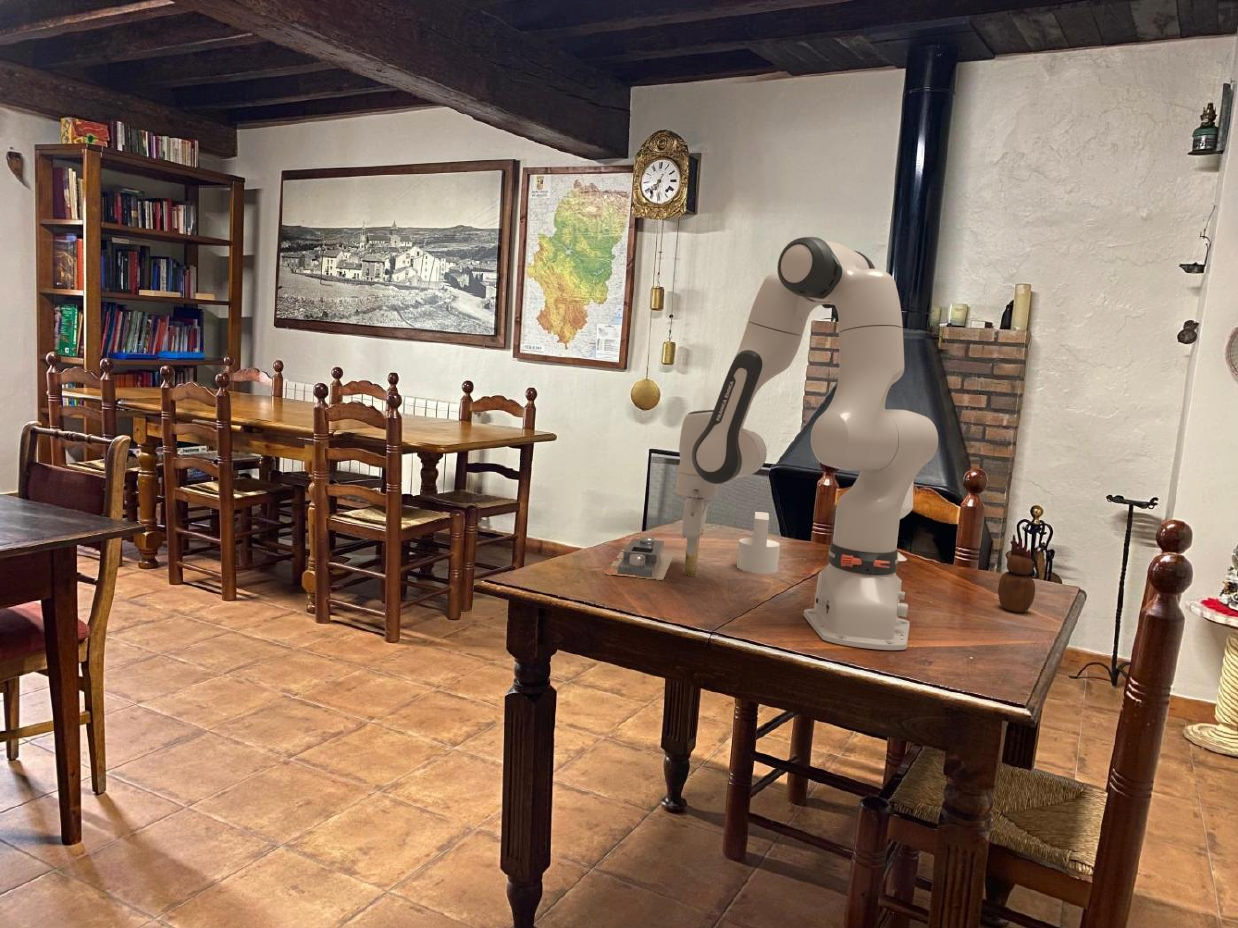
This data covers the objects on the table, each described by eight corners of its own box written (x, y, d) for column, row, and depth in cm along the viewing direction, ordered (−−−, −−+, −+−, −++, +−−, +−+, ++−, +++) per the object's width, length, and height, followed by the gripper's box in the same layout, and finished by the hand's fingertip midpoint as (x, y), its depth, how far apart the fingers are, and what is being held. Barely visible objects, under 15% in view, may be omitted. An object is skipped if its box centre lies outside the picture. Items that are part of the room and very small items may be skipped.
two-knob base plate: (663, 581, 183) (664, 560, 183) (605, 574, 185) (606, 554, 184) (673, 556, 206) (675, 537, 205) (622, 550, 208) (623, 532, 207)
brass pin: (699, 578, 188) (703, 531, 186) (680, 576, 188) (683, 529, 187) (700, 573, 192) (704, 527, 190) (681, 571, 192) (685, 525, 191)
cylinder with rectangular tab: (777, 575, 195) (783, 521, 193) (736, 571, 196) (740, 517, 194) (777, 566, 203) (782, 514, 202) (737, 561, 205) (741, 510, 203)
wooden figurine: (990, 605, 182) (999, 533, 180) (1012, 604, 184) (1021, 532, 182) (1015, 615, 175) (1025, 540, 173) (1038, 614, 177) (1047, 540, 175)
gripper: (709, 495, 177) (704, 564, 179) (714, 481, 197) (709, 542, 199) (677, 492, 178) (672, 560, 179) (686, 478, 198) (681, 540, 200)
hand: (692, 551), depth 189 cm, fingers open, 3 cm apart
